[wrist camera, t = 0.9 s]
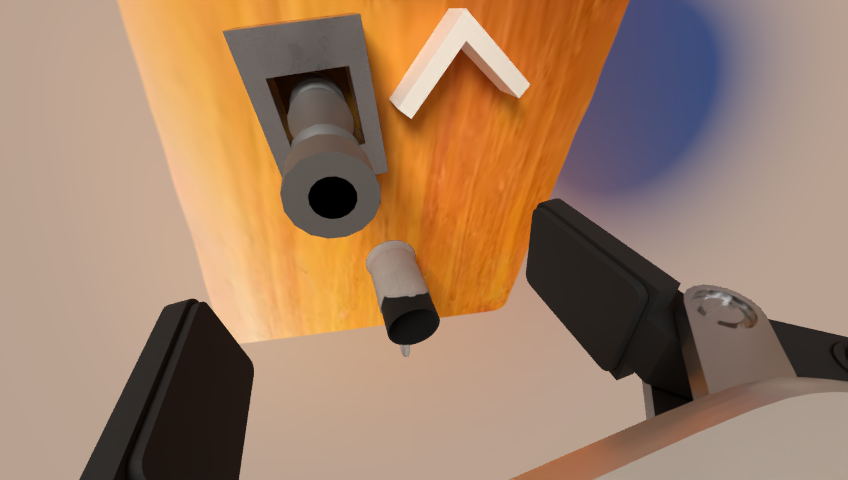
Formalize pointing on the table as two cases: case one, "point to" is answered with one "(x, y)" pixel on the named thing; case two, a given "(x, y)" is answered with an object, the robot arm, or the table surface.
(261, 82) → the gray hollow block
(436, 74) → the angle bracket
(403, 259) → the glass holder
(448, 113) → the table surface
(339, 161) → the candle holder
